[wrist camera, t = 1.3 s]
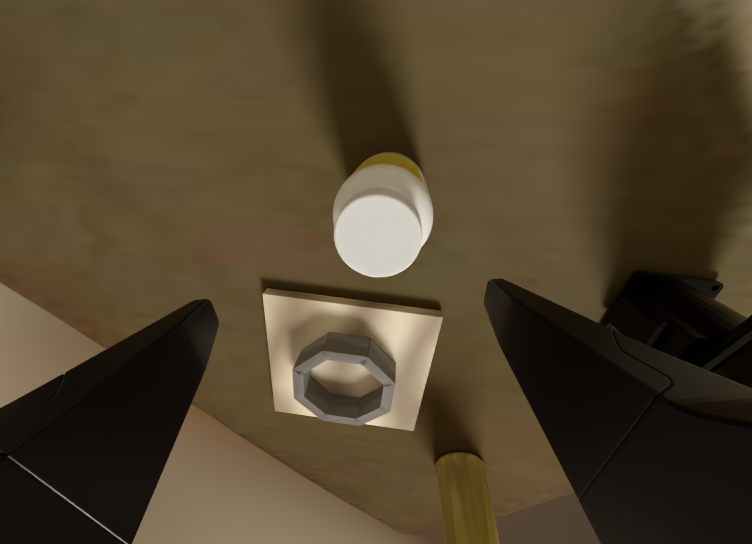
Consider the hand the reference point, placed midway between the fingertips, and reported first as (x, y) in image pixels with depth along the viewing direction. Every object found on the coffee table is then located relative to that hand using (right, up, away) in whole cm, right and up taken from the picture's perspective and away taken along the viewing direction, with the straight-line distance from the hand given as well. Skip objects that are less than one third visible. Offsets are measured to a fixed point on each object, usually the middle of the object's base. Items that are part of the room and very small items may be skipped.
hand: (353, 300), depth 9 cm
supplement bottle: (+2, +7, +12) cm, 14 cm away
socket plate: (-2, -9, +20) cm, 22 cm away
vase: (+11, -24, +27) cm, 38 cm away
